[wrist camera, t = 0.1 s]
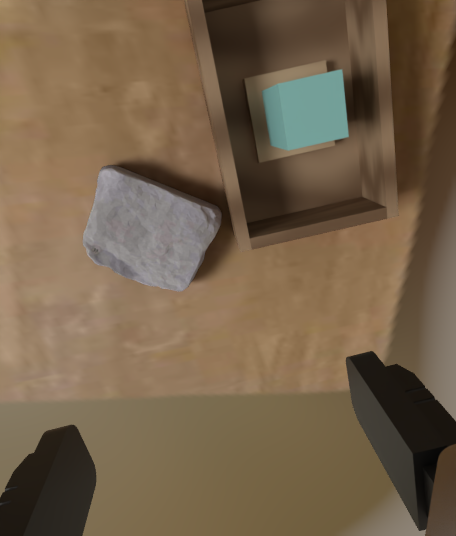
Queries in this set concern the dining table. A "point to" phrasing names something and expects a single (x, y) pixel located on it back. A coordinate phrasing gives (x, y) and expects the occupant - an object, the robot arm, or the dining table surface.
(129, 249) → the stone block
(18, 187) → the dining table surface
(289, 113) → the block
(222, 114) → the crate
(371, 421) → the robot arm
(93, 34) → the dining table surface
